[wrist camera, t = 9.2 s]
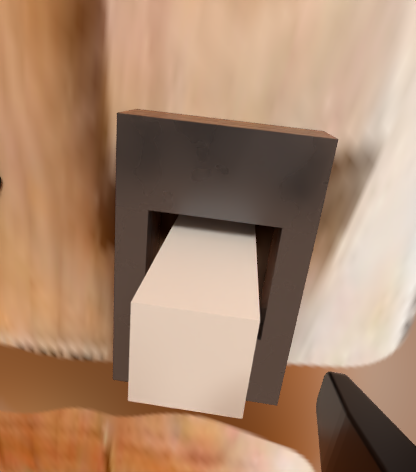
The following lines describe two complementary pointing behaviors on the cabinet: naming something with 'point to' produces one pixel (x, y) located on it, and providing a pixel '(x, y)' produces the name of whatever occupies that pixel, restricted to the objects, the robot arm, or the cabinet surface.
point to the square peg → (197, 319)
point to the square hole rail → (220, 213)
